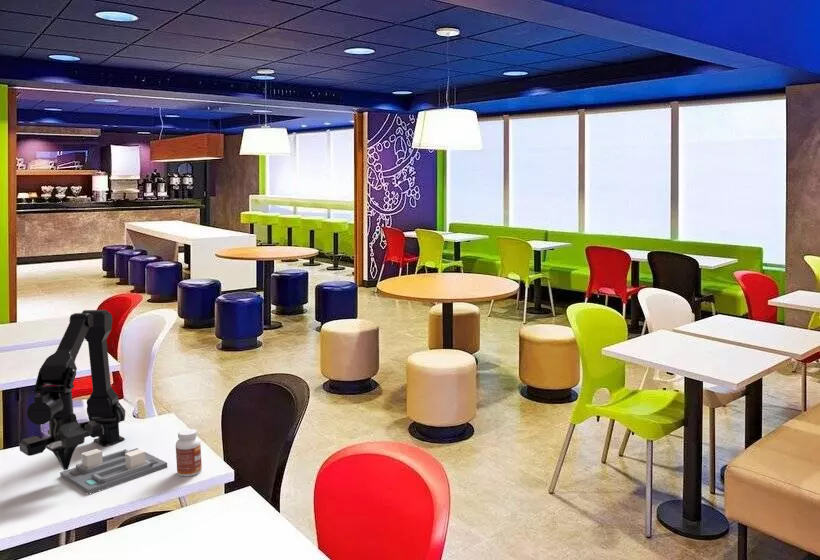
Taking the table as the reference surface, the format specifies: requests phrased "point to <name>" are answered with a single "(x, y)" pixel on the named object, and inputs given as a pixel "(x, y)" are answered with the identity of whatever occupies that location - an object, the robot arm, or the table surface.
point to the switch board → (110, 472)
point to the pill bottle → (188, 453)
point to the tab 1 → (92, 458)
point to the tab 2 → (135, 458)
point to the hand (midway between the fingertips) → (65, 469)
